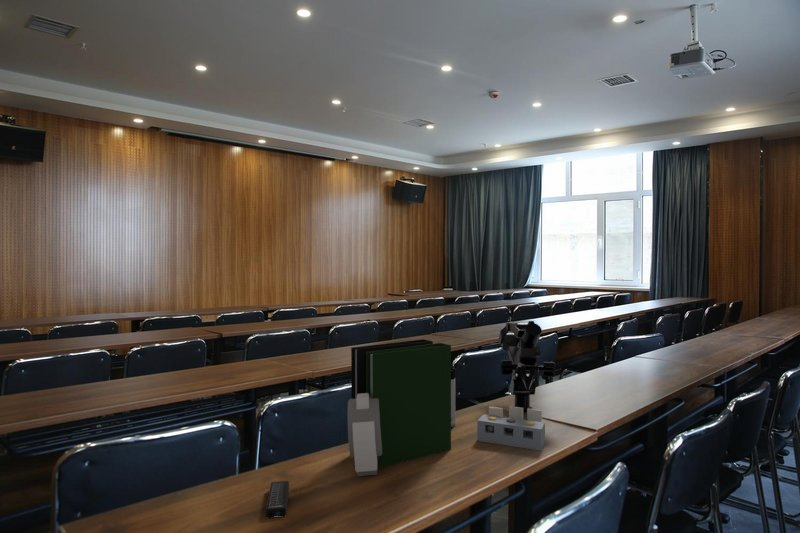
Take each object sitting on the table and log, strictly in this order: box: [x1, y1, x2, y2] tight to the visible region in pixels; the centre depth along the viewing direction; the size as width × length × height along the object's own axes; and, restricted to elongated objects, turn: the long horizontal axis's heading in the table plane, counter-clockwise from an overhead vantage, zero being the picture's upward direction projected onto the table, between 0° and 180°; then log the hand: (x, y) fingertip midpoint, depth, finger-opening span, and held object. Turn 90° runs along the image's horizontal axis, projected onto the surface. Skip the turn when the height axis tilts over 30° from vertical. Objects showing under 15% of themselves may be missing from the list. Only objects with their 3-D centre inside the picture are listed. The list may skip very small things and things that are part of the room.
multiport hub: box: [265, 480, 290, 518], centre depth 119 cm, size 4×14×2 cm, turn 10°
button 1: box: [487, 406, 504, 431], centre depth 162 cm, size 8×4×6 cm, turn 154°
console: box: [476, 414, 546, 451], centre depth 158 cm, size 7×20×7 cm, turn 64°
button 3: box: [526, 408, 543, 434], centre depth 159 cm, size 8×4×6 cm, turn 154°
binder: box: [350, 338, 452, 469], centre depth 151 cm, size 27×15×32 cm, turn 124°
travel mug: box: [451, 367, 457, 428], centre depth 174 cm, size 6×7×20 cm
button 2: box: [508, 405, 524, 431], centre depth 162 cm, size 8×4×6 cm, turn 154°
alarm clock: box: [346, 393, 382, 477], centre depth 138 cm, size 18×8×20 cm, turn 2°
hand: (527, 389), depth 172 cm, fingers closed
